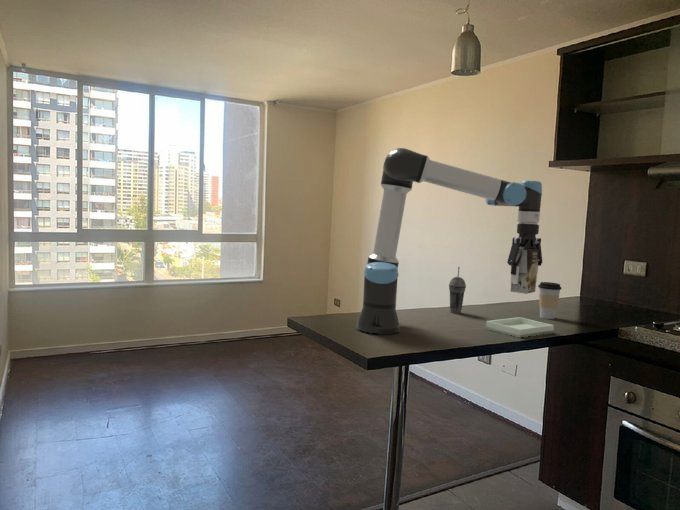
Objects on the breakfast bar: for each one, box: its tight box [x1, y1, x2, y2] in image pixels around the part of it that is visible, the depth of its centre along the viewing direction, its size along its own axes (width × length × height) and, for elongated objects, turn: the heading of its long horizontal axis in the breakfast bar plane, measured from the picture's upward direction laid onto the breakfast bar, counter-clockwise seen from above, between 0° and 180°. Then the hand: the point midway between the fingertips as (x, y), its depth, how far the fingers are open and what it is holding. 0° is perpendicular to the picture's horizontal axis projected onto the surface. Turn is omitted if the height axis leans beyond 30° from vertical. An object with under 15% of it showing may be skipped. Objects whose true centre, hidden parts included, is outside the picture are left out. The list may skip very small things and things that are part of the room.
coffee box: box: [509, 249, 539, 295], centre depth 190 cm, size 9×6×16 cm
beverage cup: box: [448, 266, 467, 315], centre depth 222 cm, size 7×7×20 cm
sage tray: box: [485, 316, 555, 339], centre depth 192 cm, size 20×15×3 cm
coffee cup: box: [537, 281, 562, 320], centre depth 221 cm, size 9×9×15 cm
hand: (523, 283), depth 191 cm, fingers closed on coffee box, 10 cm apart
